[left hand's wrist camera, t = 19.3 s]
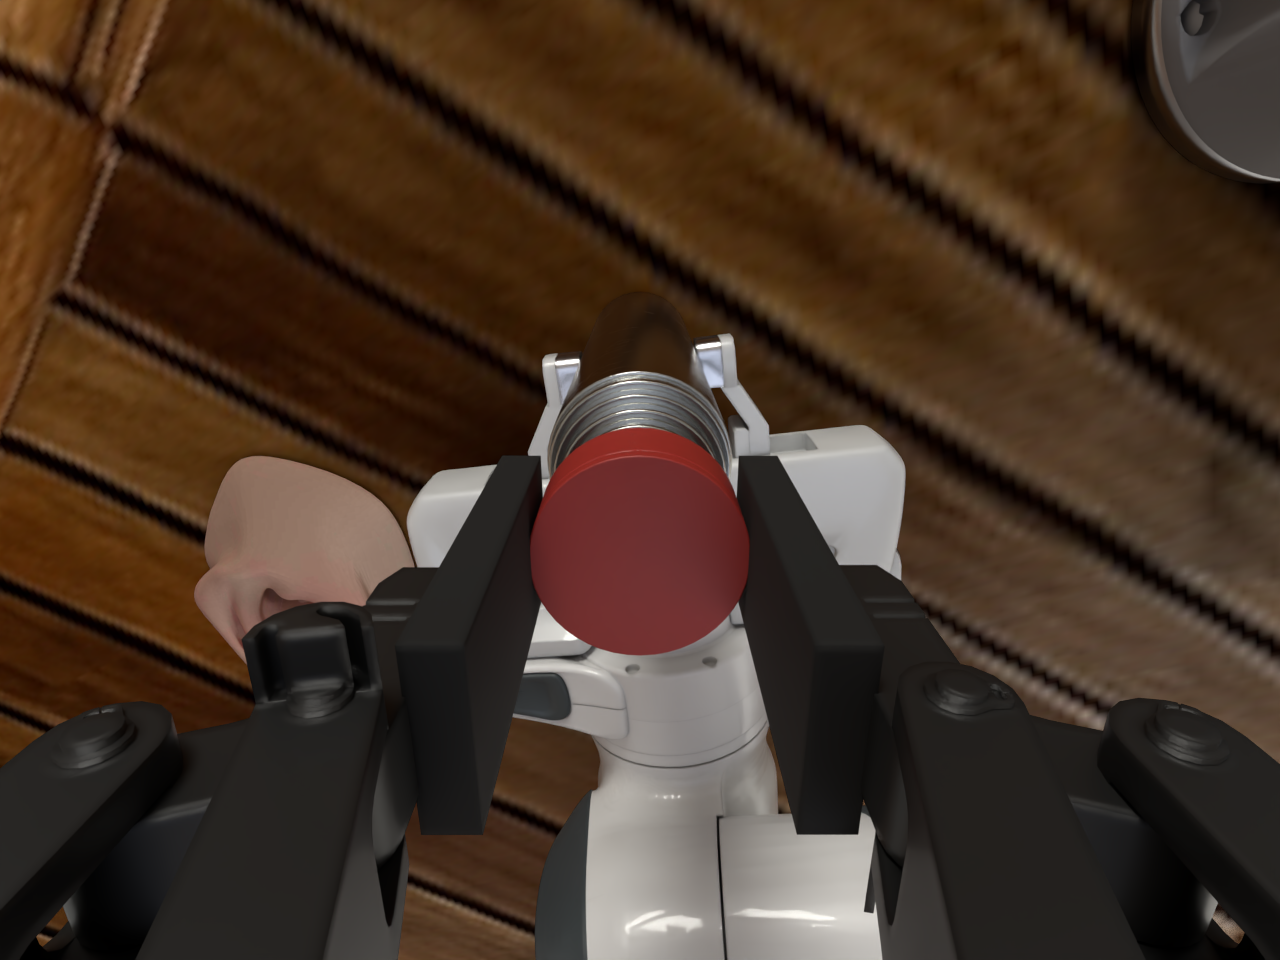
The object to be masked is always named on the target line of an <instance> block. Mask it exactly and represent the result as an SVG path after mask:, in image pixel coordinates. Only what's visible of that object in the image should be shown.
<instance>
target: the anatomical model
mask: <svg viewBox="0 0 1280 960" xmlns="http://www.w3.org/2000/svg"><path fill="white" fill-rule="evenodd" d="M205 556H206V560H207V563H208V565H209V567H210V570H209V571H208V572H207V573H206V574H205V575H204V576H203V577H202V578H201V579H200V580H199V582H198V584H197V585H196V588H195V592H194V597H195V601H196V603H197V606H198V607H199V608H200V610H201V611H202V613H203V614H204V615H205V616H206V618H207V619H208V620H209V621H210V622H211V624H212V625H213V626H214V627H215V628H216V629H217V631H218V632H219V633H220V634H221V635H222V637H223V638H224V639H225V640H226V641H227V642H228V644H229V645H230V646H231V647H232V648H233V649H234V651H235V652H236V653H237V654H238V655H239V656H240V658H241V659H242V660H243V661H244V662H245V663H246V664H247V662H246V657H245V653H244V649H243V644H242V640H241V639H242V638H243V637H244V636H245V635H246V634H247V633H248V632H249V631H250V630H251V628H252V627H253V626H255V625H256V624H258V623H260V622H261V621H263V620H265V619H267V618H268V617H270V616H272V615H273V614H276V613H279V612H282V611H285V610H287V609H290V608H293V607H296V606H300V605H306V604H311V603H317V602H347V603H351V604H355V605H359V606H363V605H366V600H367V599H368V598H369V596H370V595H371V593H372V592H373V591H374V589H375V588H376V586H377V585H378V583H380V582H381V581H383V580H384V579H386V578H387V577H389V576H390V575H392V574H393V573H395V572H396V571H398V570H400V569H401V568H403V567H415V566H414V562H413V559H412V556H411V553H410V550H409V547H408V545H407V542H406V540H405V537H404V535H403V532H402V530H401V528H400V526H399V525H398V523H397V521H396V519H395V518H394V516H393V515H392V513H391V512H390V511H389V509H388V508H387V507H386V506H385V505H384V504H383V503H382V502H381V501H380V500H379V499H377V498H376V497H375V496H374V495H373V494H371V493H370V492H368V491H367V490H365V489H364V488H362V487H360V486H358V485H357V484H355V483H353V482H351V481H349V480H347V479H345V478H343V477H340V476H338V475H335V474H333V473H330V472H328V471H325V470H322V469H318V468H315V467H312V466H309V465H306V464H302V463H298V462H294V461H290V460H286V459H280V458H274V457H266V456H251V457H247V458H243V459H241V460H239V461H238V462H236V463H235V464H234V465H233V466H232V467H231V468H230V470H229V471H228V472H227V474H226V476H225V478H224V479H223V481H222V483H221V486H220V488H219V491H218V493H217V496H216V499H215V501H214V504H213V507H212V509H211V512H210V516H209V520H208V526H207V532H206V538H205Z"/></svg>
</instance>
